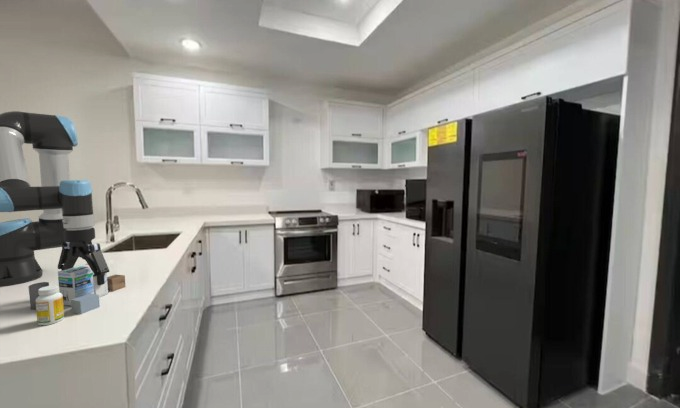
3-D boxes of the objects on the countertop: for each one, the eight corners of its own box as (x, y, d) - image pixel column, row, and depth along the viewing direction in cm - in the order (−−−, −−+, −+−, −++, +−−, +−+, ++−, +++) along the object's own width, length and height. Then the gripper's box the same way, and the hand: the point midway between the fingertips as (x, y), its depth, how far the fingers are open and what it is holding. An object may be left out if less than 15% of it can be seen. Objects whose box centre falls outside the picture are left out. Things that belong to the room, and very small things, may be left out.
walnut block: (104, 290, 105) (103, 278, 105) (116, 286, 109) (115, 274, 109) (113, 291, 104) (112, 279, 103) (125, 287, 108) (124, 275, 108)
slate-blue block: (72, 312, 88) (70, 299, 87) (90, 305, 93) (89, 293, 92) (81, 314, 87) (80, 301, 86) (99, 307, 91) (98, 294, 91)
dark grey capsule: (27, 308, 91) (24, 286, 90) (45, 302, 95) (43, 281, 94) (36, 310, 89) (34, 287, 89) (54, 304, 93) (52, 282, 93)
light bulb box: (76, 306, 92) (73, 272, 91) (59, 305, 93) (56, 271, 92) (109, 293, 102) (107, 262, 101) (93, 292, 103) (91, 261, 102)
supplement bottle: (38, 328, 79) (35, 293, 78) (36, 321, 82) (33, 288, 81) (66, 320, 83) (63, 287, 82) (63, 314, 86) (59, 282, 85)
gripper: (39, 228, 95) (45, 292, 97) (94, 232, 88) (100, 301, 90) (66, 224, 103) (72, 284, 105) (119, 228, 95) (124, 292, 97)
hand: (84, 292), depth 97 cm, fingers open, 13 cm apart
